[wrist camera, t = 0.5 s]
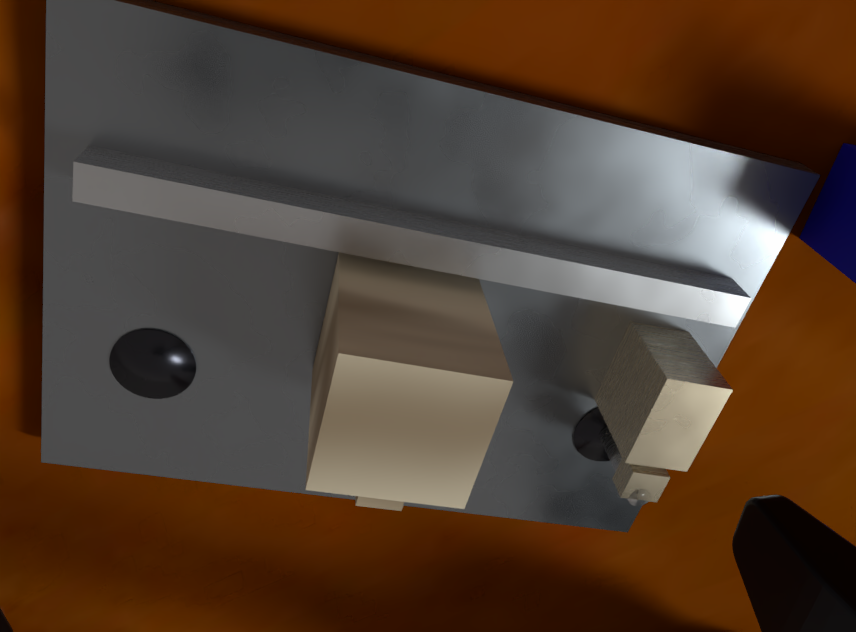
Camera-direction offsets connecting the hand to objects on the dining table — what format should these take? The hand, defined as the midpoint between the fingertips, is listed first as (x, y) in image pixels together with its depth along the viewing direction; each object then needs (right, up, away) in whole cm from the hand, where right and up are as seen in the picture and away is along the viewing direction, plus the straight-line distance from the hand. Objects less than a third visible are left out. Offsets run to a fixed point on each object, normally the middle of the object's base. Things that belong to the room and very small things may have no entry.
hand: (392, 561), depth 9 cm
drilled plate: (0, +3, +14) cm, 14 cm away
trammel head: (-1, +2, +13) cm, 13 cm away
